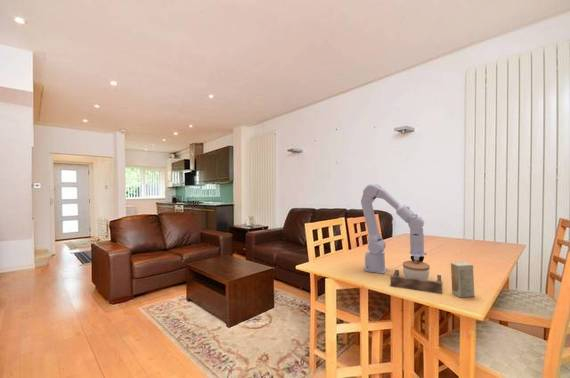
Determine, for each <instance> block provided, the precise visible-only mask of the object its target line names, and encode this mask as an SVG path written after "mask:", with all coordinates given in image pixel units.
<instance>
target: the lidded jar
mask: <svg viewBox="0 0 570 378" xmlns="http://www.w3.org/2000/svg"><path fill="white" fill-rule="evenodd" d="M430 268H431V267H430V264H428V263H427V262H420V261H416V260H415V261H412V260H406V261H403V263H402V269H403V271H402V272H403V274H404V277H406V278H413V279H421V280H428V279H429V276H430Z"/></svg>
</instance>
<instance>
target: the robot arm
mask: <svg viewBox="0 0 570 378" xmlns="http://www.w3.org/2000/svg"><path fill="white" fill-rule="evenodd" d="M376 199H381V200H384V201H385V202H386V203H387V204H389V206H391V207H392V208H394V210H395V212H396V215H397V216H398V217H400V218H401V219H402V220H403V221H404V222H405V223H406V224H408V228H409V231H410V233H409V242H410V244H409V246H410V249H409V254H410V255H411V256H410V261H415V260H416V261H420V262H423V261H424V260H425V256H426V255H427V253H428V252H426V251H425V246H424V245H425V241H424V240H425V239H424V236H425V235H424V228H423V227H424V226H425V221H424V219H423V218H422V217H421V216H419V215H418V213H415V212H413V210H412V209H411V207H410V206H409V205H408V206H407V205H405V204H401V203H400V202H399V201H398V200H397V199H396V198H395V197H394V196H392V194H390V192H388V191H387V190H386V189H385V188H384V187H382V186H381V185H380V184H377V183H376V184H371V183H370V184H367V186H365V188H364V189H363V190H362V197H361V199H360V205H361V208H362V213H363V216H364V219H365V224H366V229H367V233H368V238H367V242H368V245H367V250H368V251H367V252H365V254H364V271H365V272H367V273H368V272H370V273H376V274H377V273H378V274H385V273H386V271H387V270H388V269H387V267H386V259H385V251H384V250H385V248H386V245H387V244H386V242H385V240H384V239H383V237H382V235H381V233H380V231H379V226H378V223H377V219H376V215H375V211H374V207H373V203H374V201H375V200H376Z"/></svg>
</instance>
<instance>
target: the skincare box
mask: <svg viewBox="0 0 570 378" xmlns="http://www.w3.org/2000/svg"><path fill="white" fill-rule="evenodd" d="M450 273H451V274H450V275H451V293H452V294H454V295H455V296H456V297H459V298H469V297H471V298H472V297H475V282H474V281H475V279H474V264H472V263H469V262H466V261H460V262H459V261H458V262H450Z"/></svg>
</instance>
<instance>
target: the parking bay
mask: <svg viewBox="0 0 570 378" xmlns="http://www.w3.org/2000/svg"><path fill="white" fill-rule="evenodd" d="M436 279H437V280H436V281H435V280H428V279H427V280H421V279H413V278H406V277H405V276H400V270H399V269H395V270H394V272H393V274H392V275H390V287H396V288H403V289H410V290H416V291H423V292H428V293H429V292H430V293H436V294H443V283H442V282H443V281H442V275H441V274H436Z"/></svg>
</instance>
